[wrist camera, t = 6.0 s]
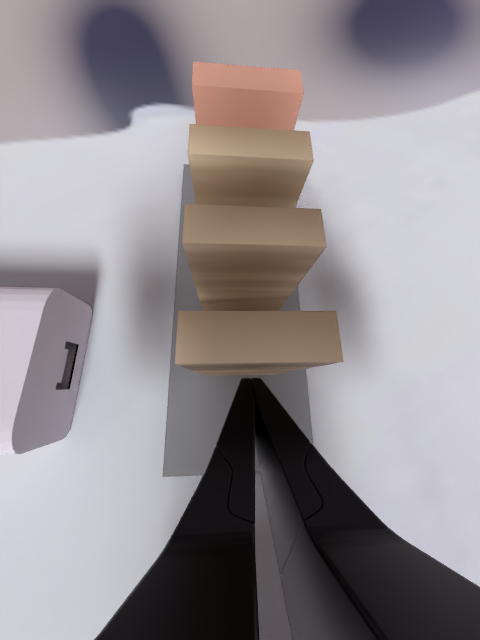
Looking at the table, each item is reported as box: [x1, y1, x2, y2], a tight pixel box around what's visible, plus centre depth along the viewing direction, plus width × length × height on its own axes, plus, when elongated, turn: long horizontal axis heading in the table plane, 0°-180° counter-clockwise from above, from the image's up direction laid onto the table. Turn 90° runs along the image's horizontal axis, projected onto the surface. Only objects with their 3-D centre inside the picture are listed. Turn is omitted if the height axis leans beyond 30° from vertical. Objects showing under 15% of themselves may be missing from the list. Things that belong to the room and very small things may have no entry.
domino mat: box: [163, 164, 313, 477], centre depth 18 cm, size 26×10×1 cm, turn 1°
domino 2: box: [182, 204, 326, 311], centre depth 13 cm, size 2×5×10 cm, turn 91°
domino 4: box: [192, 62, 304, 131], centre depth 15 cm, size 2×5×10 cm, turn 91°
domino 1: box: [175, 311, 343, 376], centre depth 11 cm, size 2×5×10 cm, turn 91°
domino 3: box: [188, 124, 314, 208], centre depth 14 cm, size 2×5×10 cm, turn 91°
